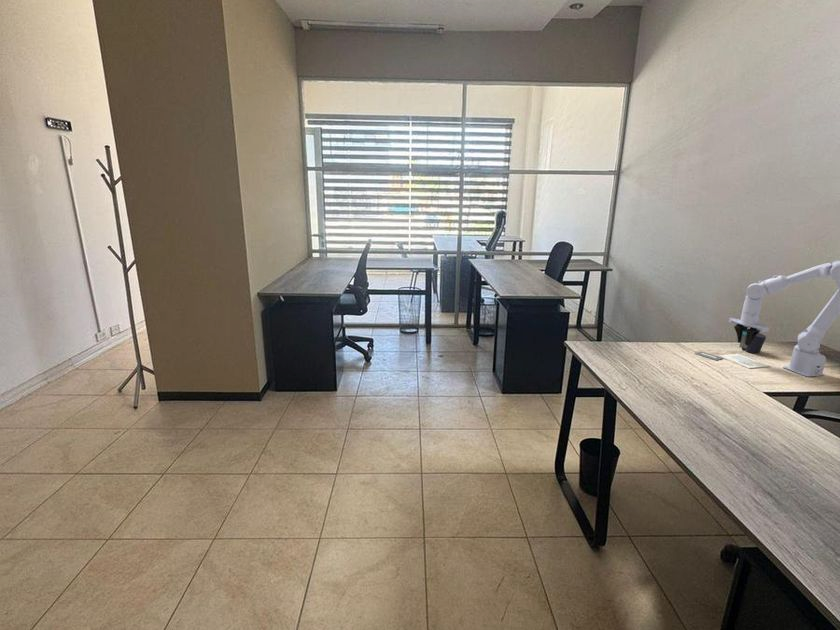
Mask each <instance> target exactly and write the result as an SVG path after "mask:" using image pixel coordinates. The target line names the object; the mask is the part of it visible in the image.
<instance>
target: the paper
mask: <svg viewBox="0 0 840 630" xmlns="http://www.w3.org/2000/svg"><path fill="white" fill-rule="evenodd" d="M718 357H722V358H723V360H726V361H729V362H731V363H734V364H737V365H739V366H741V367H743V368H745V369H749V370H751V369H761V368H768V367H770V365H768V364H766V363H763V362H761V361H758V360H755V359H752V358H750V357H747V356H745V355H742V354H740V353H731V354H720V355H718Z"/></svg>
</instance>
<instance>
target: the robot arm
mask: <svg viewBox="0 0 840 630" xmlns="http://www.w3.org/2000/svg"><path fill="white" fill-rule="evenodd" d="M829 276H830V277H831V278H832V279H833V280H834V281H835V283H836V285H837V287H838V289H837V290H836V292H835V293H834V294H833V295H832V297H831V298H830V300H828V302H827V303H826V304H825V306H824V307H823V308H822V310H821V311H820V312H819V314H817V316H816V318H815V319H814V320H813V321H812V323H811V324H809V326H807V328H806V329H805V330H802V331H801V332H800V333H798V335H797V337H796V338H797V344H796V345H794V347H793V351H792V354H791V359H790V361H789V365H786V366H785V365H784V366H783V367H782V368H783V369H785V370H789V371H792V372H794V373H796V374H799V375H802V376H805V377H807V378H808V377H818V376H824V375H825V374H824V369H825V365H826V362H827V357H826V356H825V355H824V354H821V353H820V350H819V349H820V347H821V342H822V339H824V336H825V334H826V332H827V331H828V330H829V328H830V327H831V325H832V324H833V323H834V322H835V320H837V318H838V317H839V315H840V259H839V260H834V261H832V262H826V263H822V264H819V265H816V266H813V267H810V268H807V269H804V270H801V271H798V272H796V273H794V274H790V275H788V276H785V275H781V274H780V275H777V274H774V275H773V276H772V277H771V278H768V279H764V280H758V282H754V283H751V284H749V285H748V286H747V288H746V292H745V293H746V296H745V297H744V298H745V299H744V301H743V306H742V310H741V315H740V318H734V317H729V318H728V323H729V324H733V325H734V327H733V328H734V330H735V333H736V337H737V343H739V344H740V341H741V337H742V331H743V330H745V331H747V338H746V342H745V345H750V344H751V342H752V340H753V339H754V337H755V336H756V335H757V334H758V333H760V332H763V333H768V332H770V331H769V330H770V327H769V326H766V325H763V324H760V323H758V322H759V317H760V313H761V308H762V304H763V302H762V300H763V297H764V296H765V295H771V294H774V293H777V292H781V291H783V290H787V289H788V288H789V286H790V285H792V284H797V283H799V282H803V281H807V280H809V279H810V280H811V279H812V278H813V279H814V278H825V279H829V278H828V277H829Z"/></svg>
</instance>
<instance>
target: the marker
mask: <svg viewBox="0 0 840 630" xmlns="http://www.w3.org/2000/svg"><path fill="white" fill-rule="evenodd" d="M746 338H747V331H745V330H743V331H742V337H741V341H740V343H739V348H741V349H742V348H747V345H745V342H746Z"/></svg>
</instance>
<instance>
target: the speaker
mask: <svg viewBox="0 0 840 630" xmlns="http://www.w3.org/2000/svg"><path fill="white" fill-rule="evenodd" d="M766 339H767V336H766V335H765V334H763V333H760V332H759V333H758V334H757V335H756V336H755V337H754V339H753V340H752V342H751V344H750V345H747V348H741V350H745V351H747V352H749V353H751V354H756V355H757V354H760V353H761V350H762V349H763V346H764V343H765V341H766Z"/></svg>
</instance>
